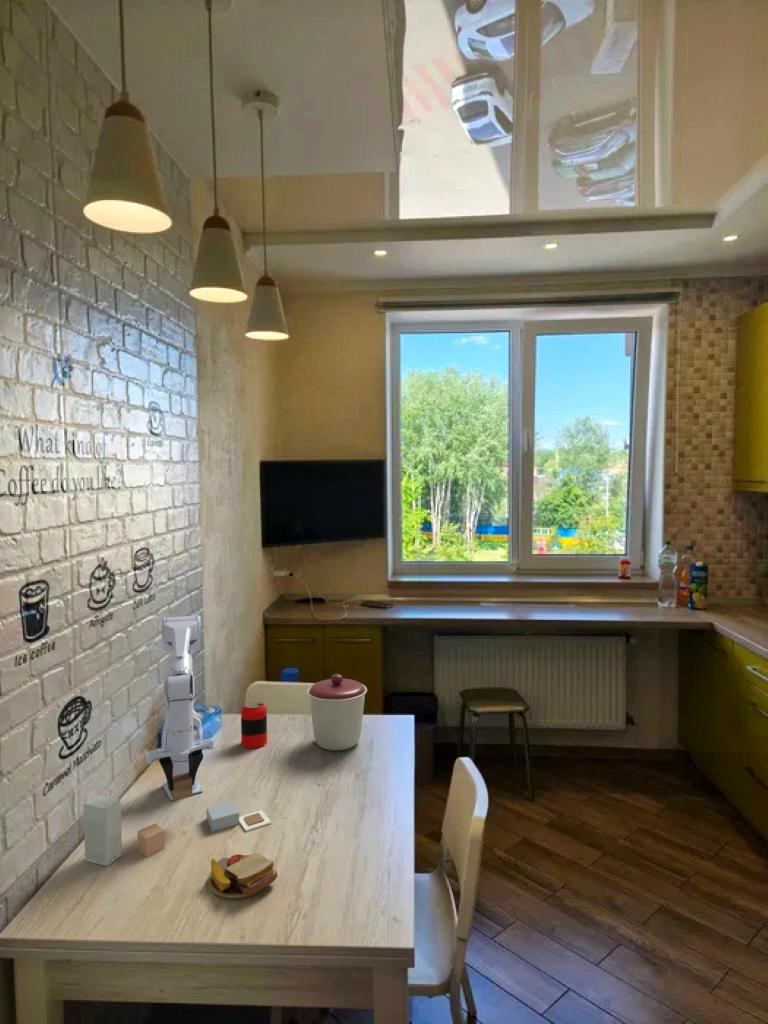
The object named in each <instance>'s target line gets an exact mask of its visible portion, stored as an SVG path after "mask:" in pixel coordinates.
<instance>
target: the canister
mask: <svg viewBox="0 0 768 1024" xmlns="http://www.w3.org/2000/svg"><path fill="white" fill-rule="evenodd" d="M367 692H368V688H367V687H366V685H364V684H363V683H361V682H360V681H357V680H354V679H349V678H343V676H342V675H341V673H340V674H339V673H335V674H332V675H331V678H329V679H323V680H320V681H317V682H315V683H314V684H313V685H310V686H309V687H308V688H307V689H306V694H307V696H308V697H309V707H310V714H311V723H312V724H311V725H312V729H313V736H314V740H315V742H316V744H317V746H318V747H320V748H321V749H324V750H328V751H335V752H336V751H345V750H348V749H351V748H354V746H356V745H357V744H358V743H359V741H360V738H361V733H362V728H363V717H364V707H365V697H366V694H367Z"/></svg>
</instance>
